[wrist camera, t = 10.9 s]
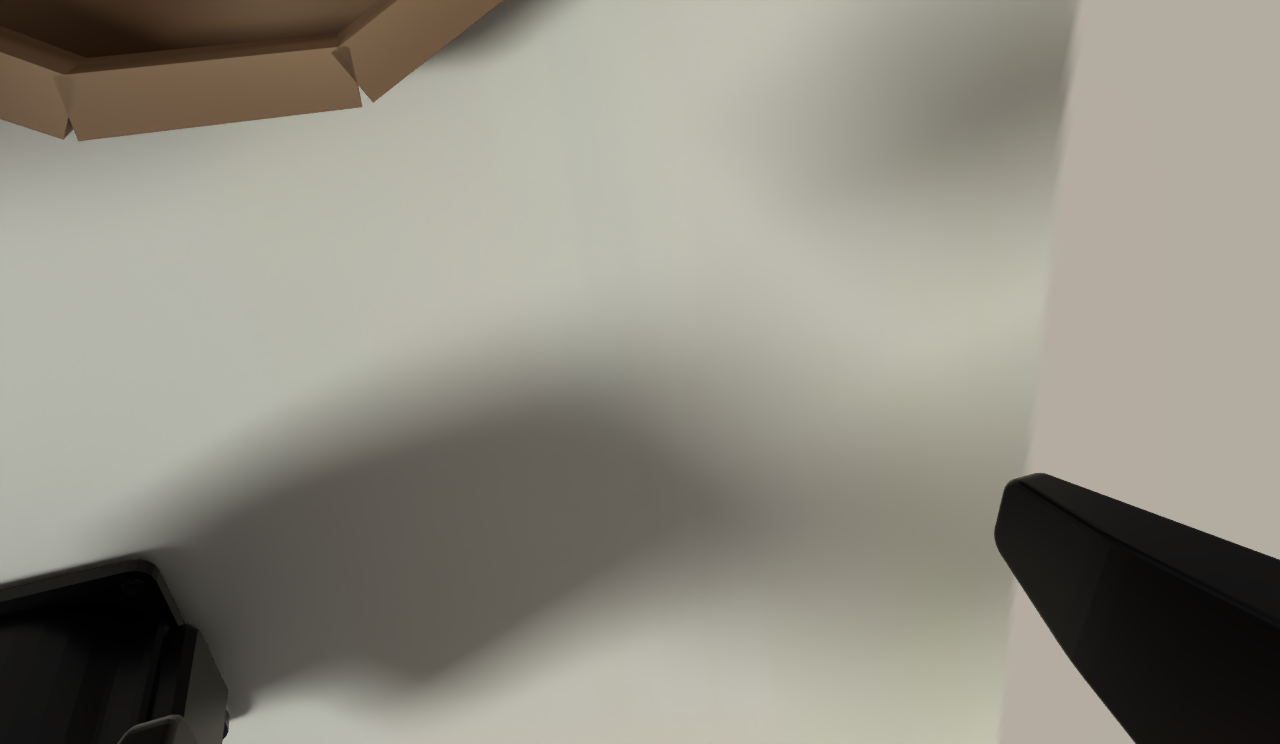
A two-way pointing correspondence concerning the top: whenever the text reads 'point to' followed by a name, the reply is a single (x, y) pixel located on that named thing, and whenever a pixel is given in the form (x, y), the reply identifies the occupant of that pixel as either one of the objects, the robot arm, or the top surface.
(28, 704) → the robot arm
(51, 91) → the tray
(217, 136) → the top surface
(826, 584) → the top surface
